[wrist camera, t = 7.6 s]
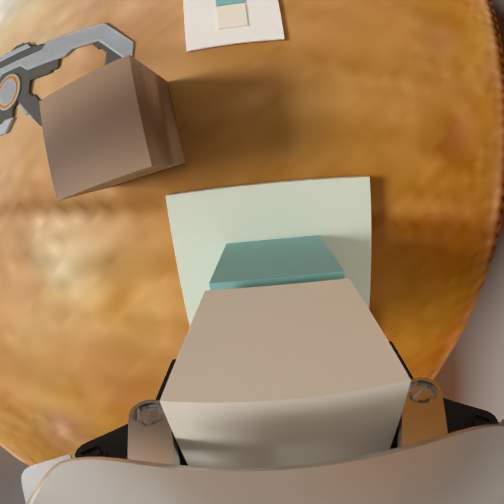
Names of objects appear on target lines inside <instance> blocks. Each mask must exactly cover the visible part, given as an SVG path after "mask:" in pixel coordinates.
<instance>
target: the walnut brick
mask: <svg viewBox="0 0 504 504" xmlns="http://www.w3.org/2000/svg"><path fill="white" fill-rule="evenodd" d="M39 104H40V113H41V120H42V127H43V134H44V140H45V146H46V151H47V156H48V162H49V166H50V171H51V176H52V180H53V185H54V189H55V193H56V197H57V201H60V200H63V199H67V198H70V197H74V196H78V195H82V194H85V193H89V192H93V191H97V190H101V189H105V188H109V187H112V186H115V185H118V184H121V183H124V182H127V181H130V180H133V179H136V178H139V177H142V176H145V175H148V174H152V173H155V172H158V171H161V170H165V169H168V168H171V167H175V166H178V165H182V164H185V163H186V162H185V157H184V153H183V149H182V145H181V141H180V136H179V132H178V128H177V124H176V119H175V115H174V110H173V106H172V101H171V97H170V92H169V88H168V83H167V81H165V80H164V79H163V78H161V77H160V76H159V75H157V74H156V73H154V72H153V71H152V70H150V69H149V68H147V67H146V66H145V65H143V64H142V63H140V62H139V61H137V60H136V59H135V58H133V57H132V56H130V55H127V56H125V57H122V58H120V59H118V60H115V61H113V62H111V63H109V64H107V65H105V66H102V67H100V68H98V69H96V70H94V71H92V72H90V73H88V74H86V75H84V76H82V77H81V78H79V79H77V80H75V81H73V82H71V83H69V84H68V85H66V86H64V87H62V88H61V89H59V90H57V91H56V92H54V93H52V94H51V95H49V96H47V97H46V98H44V99H42V100H41V101H39Z"/></svg>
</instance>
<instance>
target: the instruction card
mask: <svg viewBox="0 0 504 504" xmlns="http://www.w3.org/2000/svg"><path fill="white" fill-rule="evenodd" d="M183 5H184V22H185V37H186V51H187V52H191V51H196V50H202V49H207V48H213V47H220V46H227V45H234V44H243V43H252V42H263V41H277V40H284V39H285V38H284V32H283V26H282V20H281V14H280V8H279V3H278V0H183Z"/></svg>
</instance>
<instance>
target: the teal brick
mask: <svg viewBox="0 0 504 504" xmlns="http://www.w3.org/2000/svg"><path fill="white" fill-rule="evenodd" d="M337 279H344V270H343V269H342V267H341V266H340V264H339V263H338V261H337V260H336V258H335V257H334V255H333V254H332V252H331V251H330V249H329V248H328V247H327V245H326V244H325V242H324V241H323V239H322V238H321V236H320V235H316V236H304V237H293V238H281V239H270V240H259V241H248V242H237V243H227V244H226V245H225V248H224V250H223V252H222V255H221V257H220V259H219V261H218V264H217V266H216V268H215V271H214V273H213V275H212V278H211V280H210V282H209V286H210V290H222V289H236V288H249V287H261V286H273V285H285V284H296V283H307V282H317V281H327V280H337Z"/></svg>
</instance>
